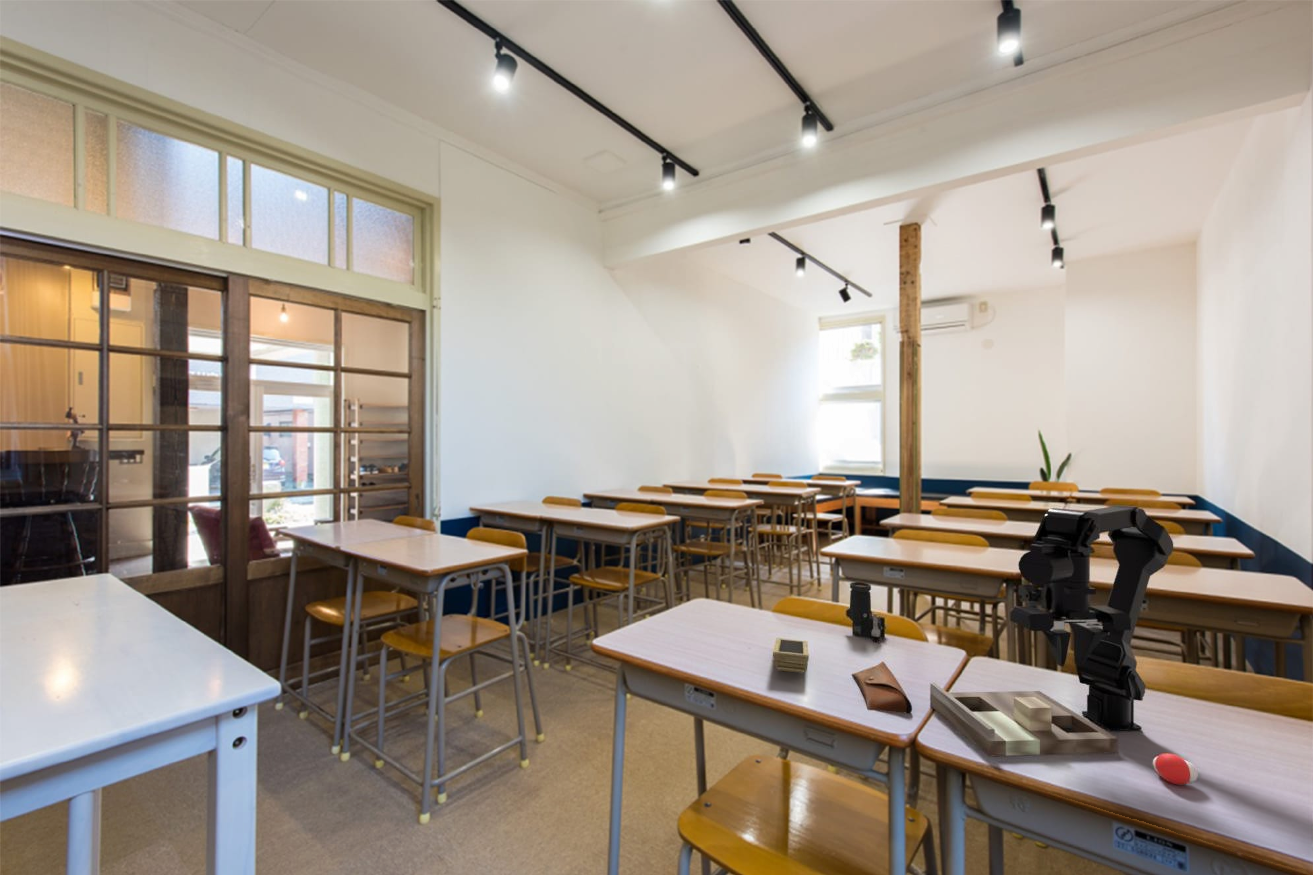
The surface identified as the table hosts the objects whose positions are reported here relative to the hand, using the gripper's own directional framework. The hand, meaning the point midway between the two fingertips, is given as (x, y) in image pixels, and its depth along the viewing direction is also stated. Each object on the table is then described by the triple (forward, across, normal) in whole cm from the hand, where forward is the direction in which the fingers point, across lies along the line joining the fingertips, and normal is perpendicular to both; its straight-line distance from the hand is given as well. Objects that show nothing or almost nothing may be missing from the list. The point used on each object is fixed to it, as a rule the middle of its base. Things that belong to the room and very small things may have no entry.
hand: (1069, 665), depth 100 cm
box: (+13, +40, -35) cm, 55 cm away
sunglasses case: (+14, +26, -19) cm, 35 cm away
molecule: (+13, -6, +13) cm, 20 cm away
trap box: (+13, +7, -4) cm, 15 cm away
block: (+10, +7, 0) cm, 13 cm away
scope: (+13, +14, -53) cm, 56 cm away
